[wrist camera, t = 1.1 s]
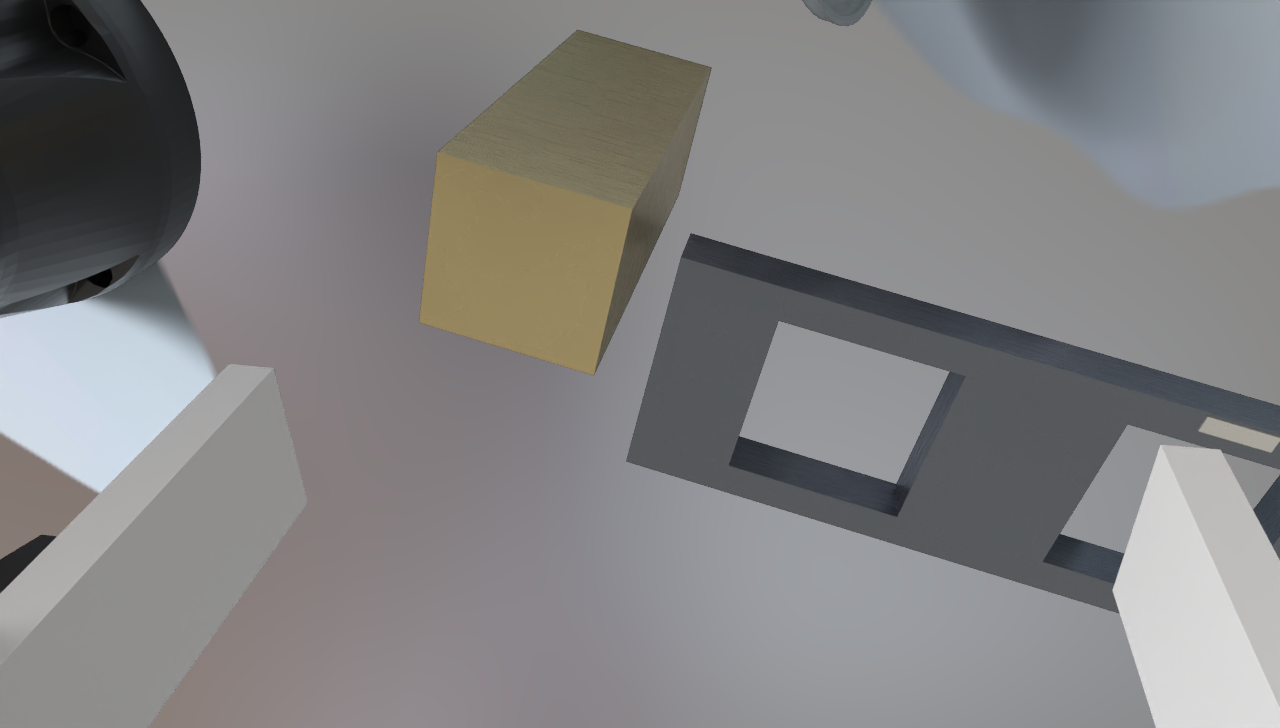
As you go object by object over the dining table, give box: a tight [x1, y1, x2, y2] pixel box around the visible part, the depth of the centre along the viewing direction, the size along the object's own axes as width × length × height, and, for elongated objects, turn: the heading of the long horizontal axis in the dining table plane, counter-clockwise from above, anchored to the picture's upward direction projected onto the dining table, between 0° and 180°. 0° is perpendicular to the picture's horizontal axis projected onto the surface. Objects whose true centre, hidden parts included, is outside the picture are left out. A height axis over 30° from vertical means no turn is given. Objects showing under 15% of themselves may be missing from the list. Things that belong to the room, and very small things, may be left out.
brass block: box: [419, 30, 711, 375], centre depth 28 cm, size 4×4×12 cm
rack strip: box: [626, 234, 1280, 613], centre depth 35 cm, size 26×9×2 cm, turn 77°
